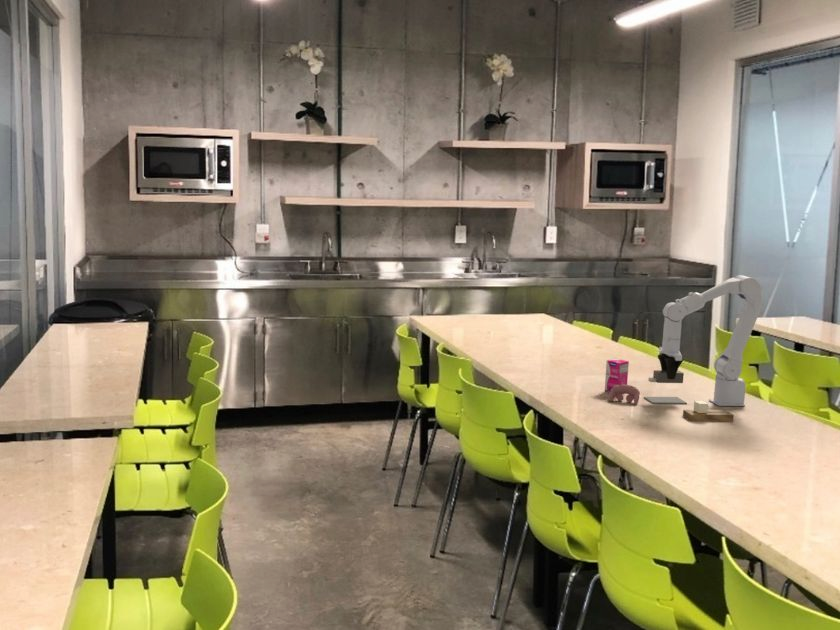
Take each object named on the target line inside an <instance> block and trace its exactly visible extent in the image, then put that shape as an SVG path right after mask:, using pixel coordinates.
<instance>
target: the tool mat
mask: <svg viewBox="0 0 840 630" xmlns="http://www.w3.org/2000/svg"><path fill="white" fill-rule="evenodd" d="M643 399H645V400H646V401H647V402H649V403H650V404H652V405H687V404H688V403H687V402H686V401H685V400H683V399H681V398H680V397H679V396H643Z"/></svg>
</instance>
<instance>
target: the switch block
mask: <svg viewBox="0 0 840 630" xmlns="http://www.w3.org/2000/svg"><path fill="white" fill-rule="evenodd" d="M682 416H683V417H684V418H685V419H687V420H689V421H692V422H709V421H710V422H734V414H733V413H732V412H729V411H728V410H726V409H708V413H698V412H696V411H694V409H683V410H682Z"/></svg>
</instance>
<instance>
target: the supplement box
mask: <svg viewBox="0 0 840 630" xmlns="http://www.w3.org/2000/svg"><path fill="white" fill-rule="evenodd" d="M629 363H630V362H629V361H628V360H624V359H619V358H612V359H608V360H606V365H605V366H606V367H605V380H604V381H605V382H604V392H607V393H610V392H611V389H612V388H613V387H614V386H615V385H622V384H624V385H628V376H629Z"/></svg>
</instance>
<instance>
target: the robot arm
mask: <svg viewBox="0 0 840 630" xmlns="http://www.w3.org/2000/svg"><path fill="white" fill-rule="evenodd" d="M762 290H763V287H762V286H761V284H760V282H759V281H758V279H756V277H755V278H754V277H751V276H746V275H743V274H739V275H736V276H735V277H730V278H728V279H726V280H724V281H723V282H720V283H719V284H717V285H715V286H713V287H711V288H709V289H708V290H705V291H704V292H701V293H699V292H693V291H691V292H688V295H686V296H685V297H682V298H680V299H679V298H677V299H675V302H668V303H666V304H665V306H664V307H663V309H662V315H663V316H664V322H663V333H662V342H661V344H662V345H661V346H659V347H658V353H660V354H657V358H658V360H659V361H658V362H659V364H660V368H661V369H660V370H667V376H668V379H675V376H676V373H677V371H679V368H680V367H681V365H682V363H683V361H684V360H683V355H682V354H681V353H682V352H681V351H680V350H681V349H680V348H681V337H682V336H681V335H682V322H683V321H682V320H683V319H684V318H685V316H687V315H689V314H692V313H694V312H697V311H699V310H700V309H702V308H704V307H705V304H706V303H707V302H710V301H713V300H715V299H717V298H719V297H722V296H724V295H726V294H732V295H733V294H735V295H737V296H739V298H740V299H741V302H742V303H743V308H742V310H741V313H740V316H739V318H738V320H737V323H736V325H735V327H734V330H733V332H732V334H731V337H730V339H729V342H728V344H727V347H726V348H724V350H722V352H721V353H720V355H719V356H718V358H717V359H715V361H714V363H713V367H714V370H715V371H716V375H715V382H714V393H713V398H709V399H708V401H709V402H711V403H713V404H715V405H716V406H718V407H724V406H725V407H745V406H746V404H745V398H746V397H745V395H746V383H745V380H744V379H743V378H741V377H740V376H741V374H742V364H743V363H744V359H743V354H744V350H745V348H746V345H747V344H748V341H749V338H750V337H751V334H752V332H753V329H754V327H755V324H756V322H757V319H758V318H759V315H760V313H761V310H762V308H763V298H762V297H763V296H762Z"/></svg>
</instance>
